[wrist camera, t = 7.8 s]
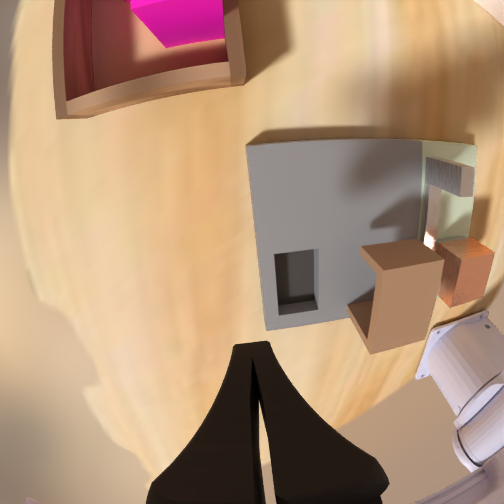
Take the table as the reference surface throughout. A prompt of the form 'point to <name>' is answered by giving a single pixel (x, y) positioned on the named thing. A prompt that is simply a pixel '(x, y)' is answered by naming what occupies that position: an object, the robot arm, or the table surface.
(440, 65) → the table surface
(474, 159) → the track
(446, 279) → the sled
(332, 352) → the table surface
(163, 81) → the wooden caddy
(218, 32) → the toy block
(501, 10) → the gable box
